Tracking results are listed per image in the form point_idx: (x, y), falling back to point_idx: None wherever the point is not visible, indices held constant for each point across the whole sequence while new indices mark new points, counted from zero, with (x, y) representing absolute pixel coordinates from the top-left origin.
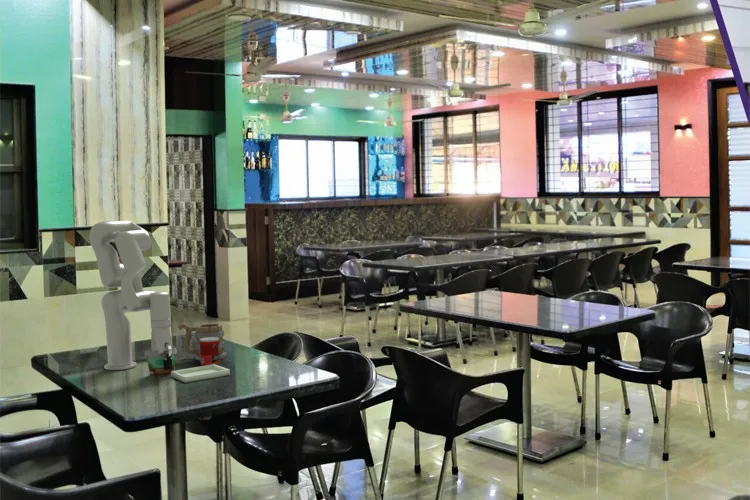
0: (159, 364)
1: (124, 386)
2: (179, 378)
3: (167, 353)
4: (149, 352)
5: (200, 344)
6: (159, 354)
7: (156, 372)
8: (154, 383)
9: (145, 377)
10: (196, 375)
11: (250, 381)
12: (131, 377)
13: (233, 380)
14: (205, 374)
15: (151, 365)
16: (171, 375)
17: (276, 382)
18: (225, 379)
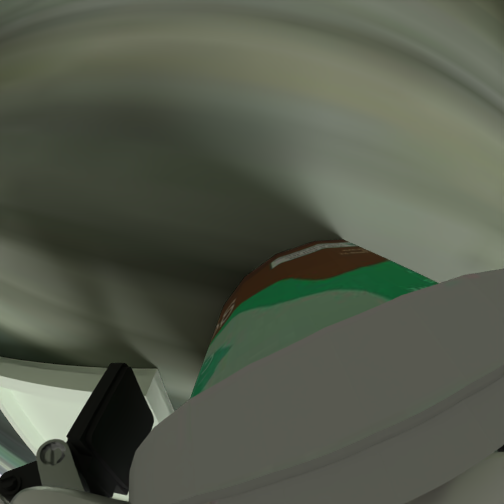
0: (197, 381)
1: (55, 7)
2: (31, 367)
3: (2, 496)
4: (336, 466)
5: None
6: (68, 489)
7: (235, 297)
8: (8, 206)
9: (261, 174)
10: (7, 418)
11: (9, 462)
12: (350, 66)
13: (19, 456)
14: (32, 448)
15: (285, 289)
16: (144, 374)
17: (3, 471)
18: (31, 456)
